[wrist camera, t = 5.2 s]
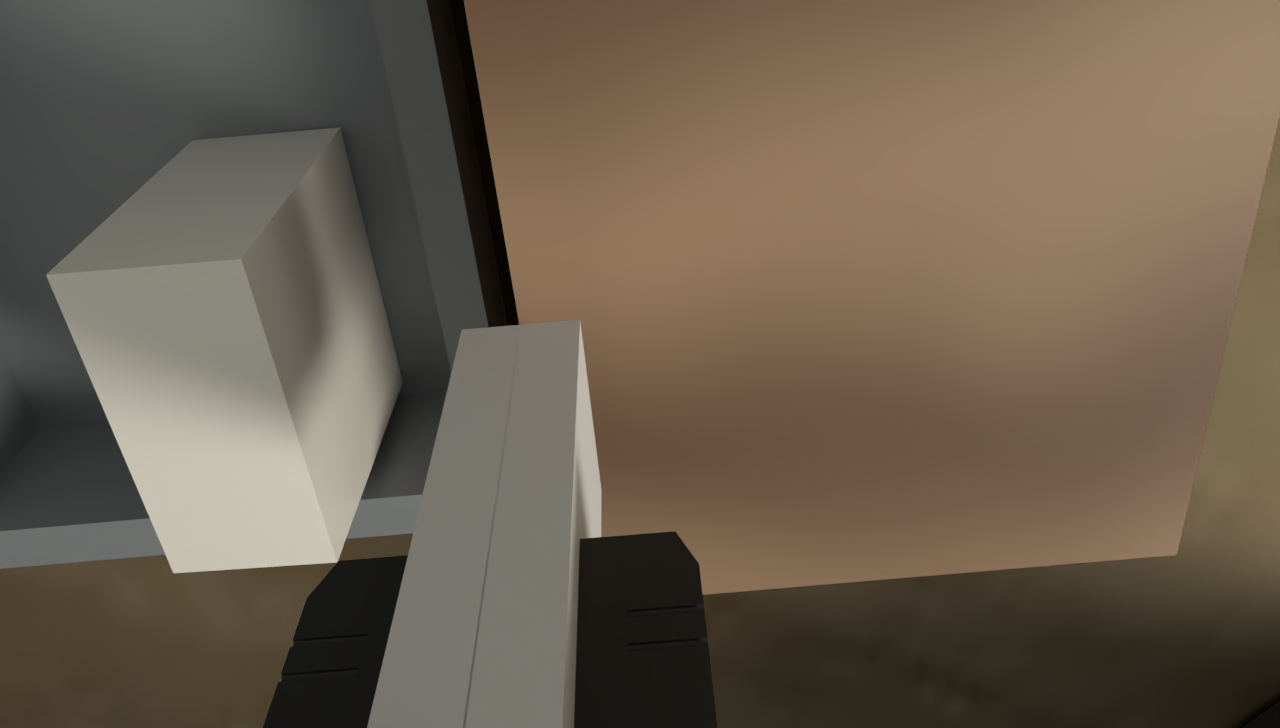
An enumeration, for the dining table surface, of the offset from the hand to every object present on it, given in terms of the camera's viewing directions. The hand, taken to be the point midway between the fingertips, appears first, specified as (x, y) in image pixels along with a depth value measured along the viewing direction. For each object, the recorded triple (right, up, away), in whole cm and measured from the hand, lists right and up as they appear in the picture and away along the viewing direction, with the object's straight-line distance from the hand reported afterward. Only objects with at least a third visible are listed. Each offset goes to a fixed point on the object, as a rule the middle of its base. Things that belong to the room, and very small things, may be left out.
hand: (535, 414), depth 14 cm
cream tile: (-3, +1, +3) cm, 4 cm away
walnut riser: (+4, +8, +3) cm, 10 cm away
